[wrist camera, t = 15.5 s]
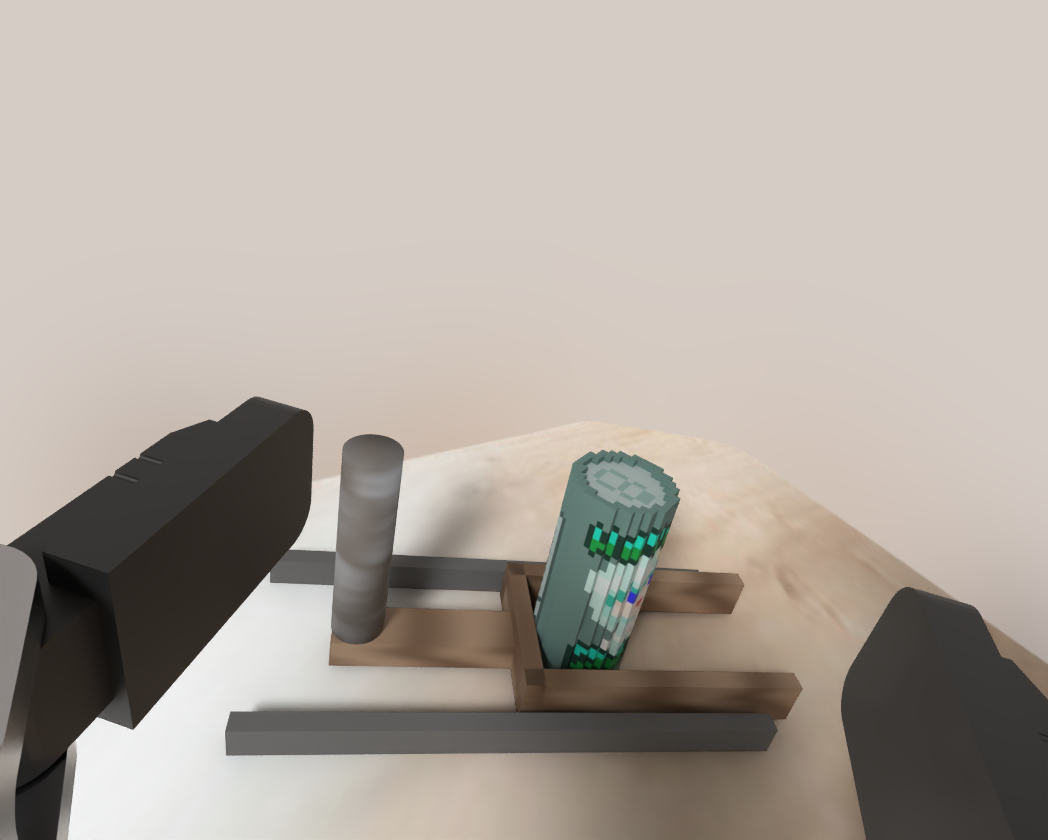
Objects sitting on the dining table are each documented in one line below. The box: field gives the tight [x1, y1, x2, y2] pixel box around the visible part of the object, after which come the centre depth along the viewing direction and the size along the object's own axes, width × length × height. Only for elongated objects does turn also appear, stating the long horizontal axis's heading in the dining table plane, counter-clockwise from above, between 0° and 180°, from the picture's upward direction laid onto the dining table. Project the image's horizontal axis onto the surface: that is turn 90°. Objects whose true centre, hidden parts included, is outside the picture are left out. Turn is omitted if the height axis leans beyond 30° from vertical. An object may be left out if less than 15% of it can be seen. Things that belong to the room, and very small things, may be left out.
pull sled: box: [329, 434, 803, 719], centre depth 43 cm, size 30×10×15 cm, turn 98°
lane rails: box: [225, 550, 778, 755], centre depth 46 cm, size 32×14×2 cm, turn 98°
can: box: [533, 450, 680, 670], centre depth 43 cm, size 6×6×15 cm
